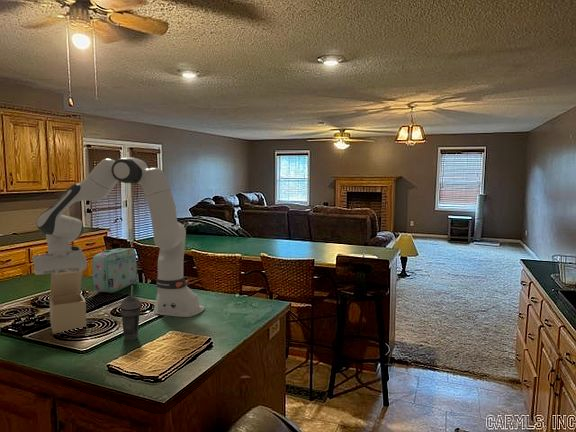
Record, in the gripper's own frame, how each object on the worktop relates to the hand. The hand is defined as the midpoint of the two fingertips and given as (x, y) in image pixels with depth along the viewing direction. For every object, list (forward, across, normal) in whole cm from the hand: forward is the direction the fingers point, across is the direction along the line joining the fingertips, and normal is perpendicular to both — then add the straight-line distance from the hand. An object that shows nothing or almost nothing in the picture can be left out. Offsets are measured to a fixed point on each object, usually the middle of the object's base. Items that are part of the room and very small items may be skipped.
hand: (62, 279), depth 170 cm
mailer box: (+24, -1, -4) cm, 24 cm away
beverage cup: (+41, +17, -20) cm, 48 cm away
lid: (+11, -1, -9) cm, 15 cm away
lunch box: (-9, +27, +29) cm, 41 cm away
